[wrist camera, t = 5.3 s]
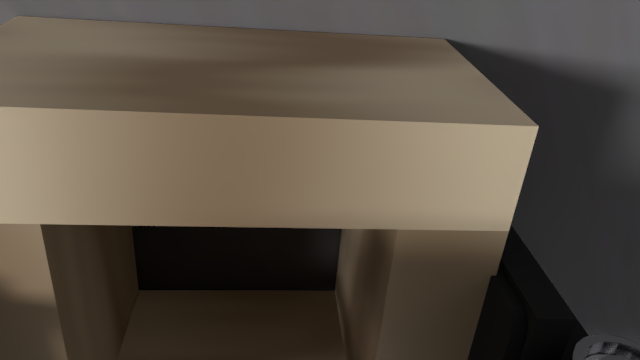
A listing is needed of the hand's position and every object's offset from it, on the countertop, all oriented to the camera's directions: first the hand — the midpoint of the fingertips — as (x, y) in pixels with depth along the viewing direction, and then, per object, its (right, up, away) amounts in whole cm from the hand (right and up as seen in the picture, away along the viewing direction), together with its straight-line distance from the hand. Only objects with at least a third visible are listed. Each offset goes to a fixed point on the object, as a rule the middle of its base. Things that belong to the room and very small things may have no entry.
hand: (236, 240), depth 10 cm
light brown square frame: (0, +1, +1) cm, 1 cm away
